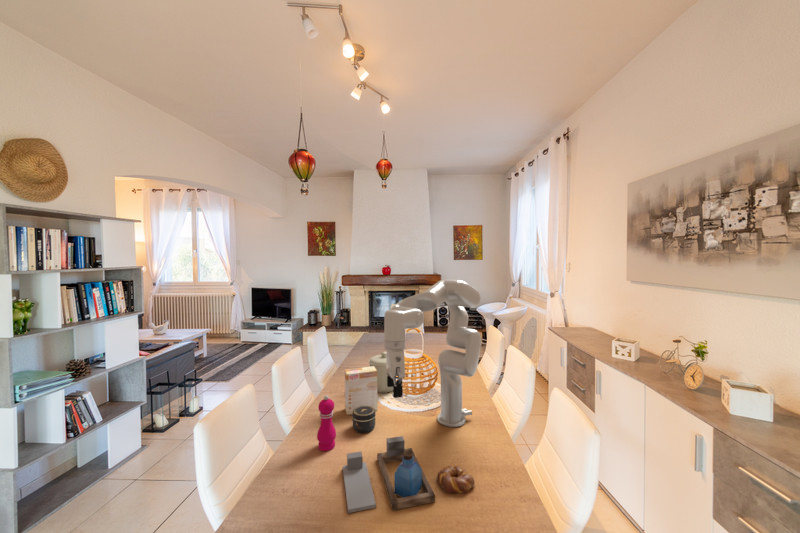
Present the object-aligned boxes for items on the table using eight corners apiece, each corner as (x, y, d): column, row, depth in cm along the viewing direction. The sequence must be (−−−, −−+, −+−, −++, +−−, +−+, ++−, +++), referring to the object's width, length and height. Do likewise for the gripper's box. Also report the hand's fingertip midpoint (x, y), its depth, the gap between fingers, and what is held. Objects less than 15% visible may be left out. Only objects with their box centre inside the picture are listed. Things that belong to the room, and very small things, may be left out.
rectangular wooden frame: (411, 453, 118) (411, 434, 118) (435, 501, 94) (435, 478, 94) (377, 458, 114) (377, 439, 114) (392, 510, 91) (392, 486, 91)
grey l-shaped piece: (365, 464, 111) (365, 450, 111) (375, 507, 92) (375, 490, 92) (342, 468, 109) (342, 454, 109) (348, 513, 90) (348, 495, 90)
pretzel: (474, 475, 106) (474, 464, 106) (474, 499, 96) (474, 487, 96) (438, 469, 109) (439, 459, 109) (435, 492, 98) (435, 480, 98)
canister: (372, 382, 188) (372, 346, 187) (402, 383, 185) (402, 347, 185) (364, 395, 170) (364, 356, 169) (398, 396, 167) (397, 357, 167)
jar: (347, 430, 134) (347, 412, 134) (361, 420, 143) (361, 403, 143) (367, 436, 130) (367, 418, 129) (379, 425, 138) (379, 408, 138)
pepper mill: (339, 443, 125) (339, 393, 124) (329, 453, 118) (329, 400, 118) (323, 439, 127) (323, 390, 127) (313, 450, 120) (312, 398, 120)
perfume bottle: (411, 501, 94) (411, 461, 94) (394, 493, 98) (394, 455, 98) (421, 488, 100) (421, 451, 99) (404, 481, 103) (404, 445, 103)
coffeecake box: (374, 404, 159) (374, 365, 158) (377, 410, 152) (377, 370, 152) (344, 408, 154) (344, 369, 154) (346, 415, 147) (346, 374, 147)
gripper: (411, 350, 106) (411, 400, 107) (398, 338, 123) (398, 381, 123) (389, 351, 105) (389, 402, 105) (379, 339, 121) (379, 383, 121)
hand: (394, 391), depth 114 cm, fingers open, 9 cm apart
